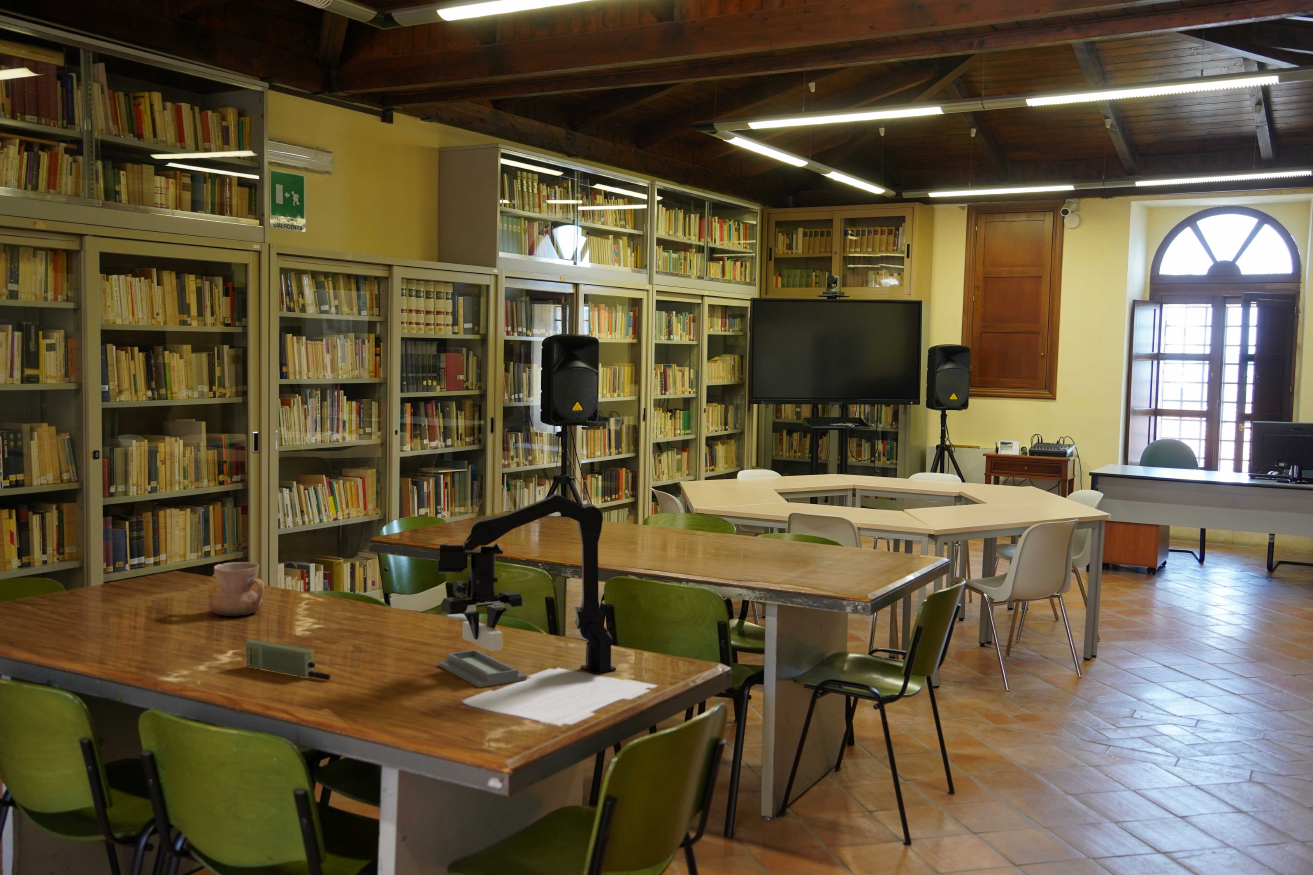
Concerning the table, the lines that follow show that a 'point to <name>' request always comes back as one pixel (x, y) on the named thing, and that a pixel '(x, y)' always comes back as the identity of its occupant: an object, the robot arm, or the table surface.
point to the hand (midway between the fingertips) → (482, 638)
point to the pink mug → (237, 589)
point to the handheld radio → (282, 659)
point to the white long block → (484, 637)
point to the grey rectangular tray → (480, 669)
